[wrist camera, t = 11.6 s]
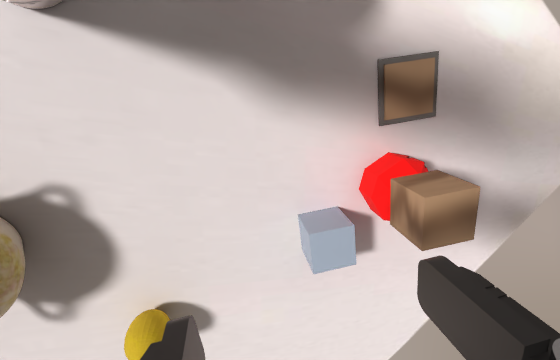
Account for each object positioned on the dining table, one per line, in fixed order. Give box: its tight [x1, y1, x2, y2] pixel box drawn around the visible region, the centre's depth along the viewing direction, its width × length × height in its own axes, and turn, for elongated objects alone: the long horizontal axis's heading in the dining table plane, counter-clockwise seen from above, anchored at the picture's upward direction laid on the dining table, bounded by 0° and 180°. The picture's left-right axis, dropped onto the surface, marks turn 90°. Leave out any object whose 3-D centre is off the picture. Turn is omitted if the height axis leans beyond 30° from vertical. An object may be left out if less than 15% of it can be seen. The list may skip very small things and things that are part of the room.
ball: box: [359, 152, 428, 221], centre depth 37 cm, size 8×8×8 cm
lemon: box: [124, 309, 170, 360], centre depth 37 cm, size 6×6×8 cm
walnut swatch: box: [378, 51, 439, 126], centre depth 37 cm, size 8×8×1 cm
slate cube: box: [298, 207, 356, 274], centre depth 39 cm, size 6×6×6 cm
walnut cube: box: [390, 170, 480, 251], centre depth 31 cm, size 6×6×6 cm
